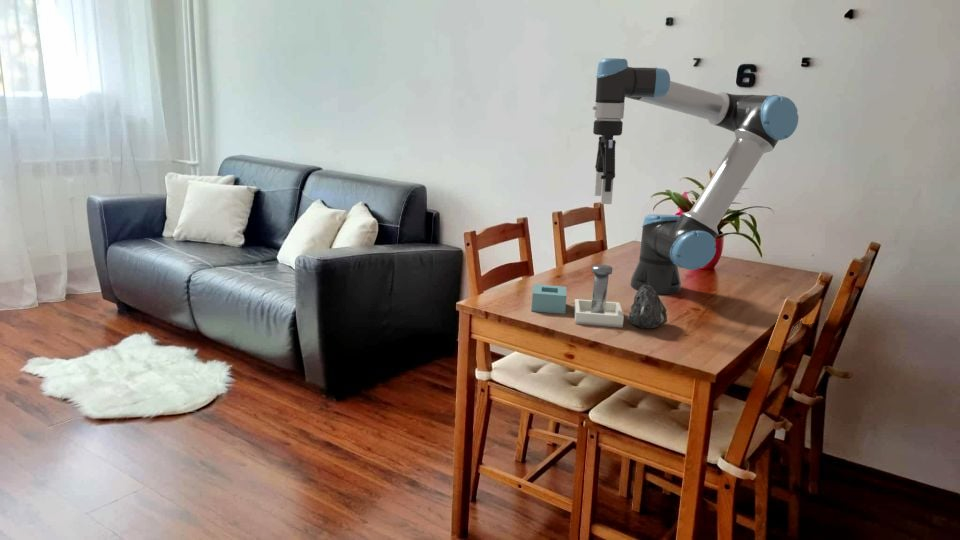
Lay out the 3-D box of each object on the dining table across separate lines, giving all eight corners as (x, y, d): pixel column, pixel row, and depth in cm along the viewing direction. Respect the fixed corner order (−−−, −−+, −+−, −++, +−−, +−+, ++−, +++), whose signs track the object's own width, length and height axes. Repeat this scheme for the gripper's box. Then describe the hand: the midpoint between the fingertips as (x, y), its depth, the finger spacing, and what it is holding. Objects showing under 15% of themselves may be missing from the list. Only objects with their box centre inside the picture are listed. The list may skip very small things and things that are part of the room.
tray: (618, 313, 184) (619, 302, 183) (622, 327, 172) (623, 316, 171) (573, 309, 185) (574, 298, 184) (575, 323, 173) (576, 312, 172)
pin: (606, 313, 180) (611, 265, 177) (608, 319, 175) (613, 270, 172) (587, 312, 181) (591, 263, 177) (588, 318, 176) (592, 268, 172)
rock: (622, 305, 181) (639, 277, 176) (654, 316, 183) (672, 288, 177) (628, 335, 171) (647, 307, 166) (662, 346, 173) (681, 318, 167)
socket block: (564, 303, 189) (566, 286, 188) (565, 313, 180) (566, 295, 179) (532, 301, 190) (533, 284, 189) (531, 311, 181) (532, 293, 180)
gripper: (588, 117, 190) (584, 192, 195) (600, 121, 166) (594, 207, 171) (615, 117, 190) (610, 192, 195) (630, 122, 165) (624, 208, 171)
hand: (602, 199), depth 183 cm, fingers open, 13 cm apart
